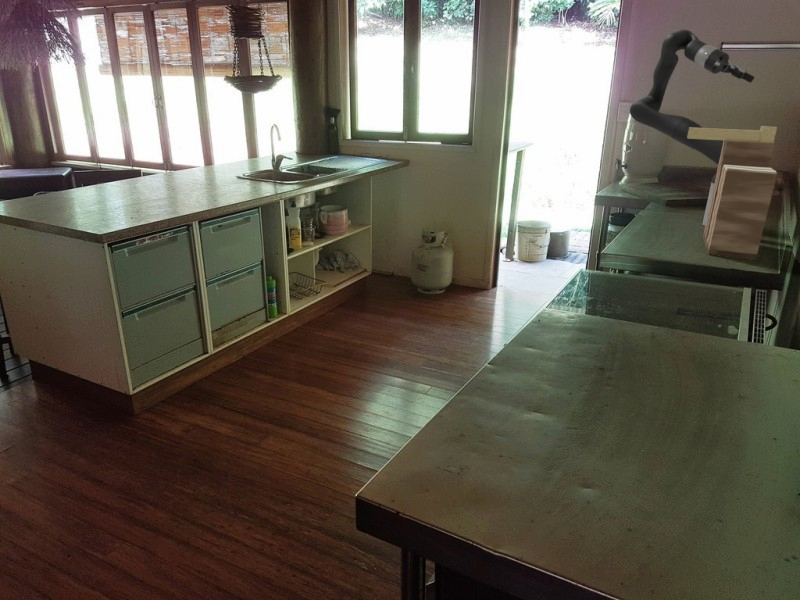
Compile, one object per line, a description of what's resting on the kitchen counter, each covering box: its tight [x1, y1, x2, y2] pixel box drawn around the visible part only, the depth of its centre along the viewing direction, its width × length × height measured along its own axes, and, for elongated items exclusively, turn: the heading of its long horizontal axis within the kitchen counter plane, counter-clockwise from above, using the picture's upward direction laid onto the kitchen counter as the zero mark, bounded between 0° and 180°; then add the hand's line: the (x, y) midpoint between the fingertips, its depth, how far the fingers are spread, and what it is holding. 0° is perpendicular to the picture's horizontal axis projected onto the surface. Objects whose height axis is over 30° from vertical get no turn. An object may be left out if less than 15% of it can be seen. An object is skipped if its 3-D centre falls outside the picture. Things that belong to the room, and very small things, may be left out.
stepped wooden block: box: [702, 140, 778, 261], centre depth 195 cm, size 26×14×36 cm, turn 157°
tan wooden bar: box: [687, 125, 778, 143], centre depth 197 cm, size 5×26×5 cm, turn 67°
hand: (747, 78), depth 204 cm, fingers open, 8 cm apart
